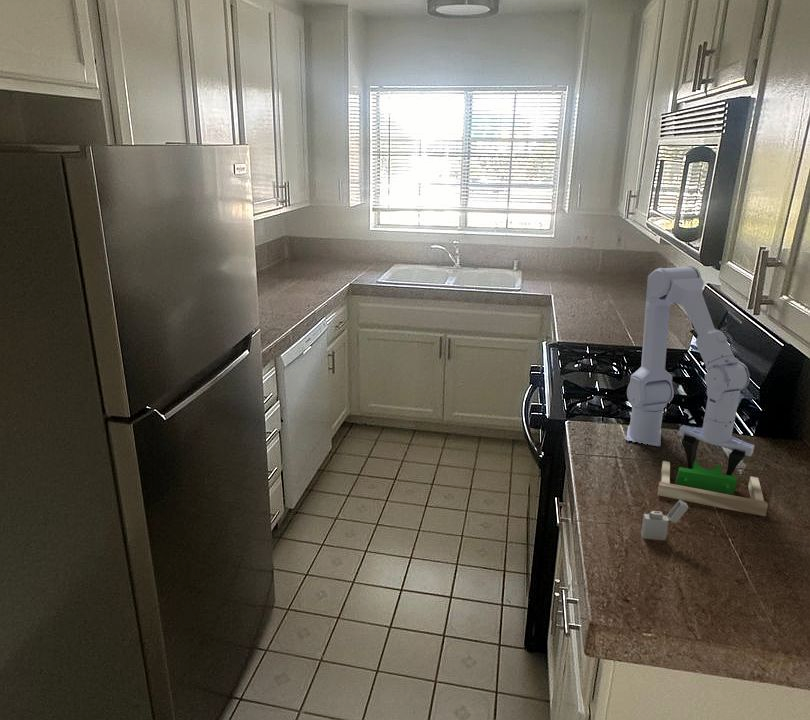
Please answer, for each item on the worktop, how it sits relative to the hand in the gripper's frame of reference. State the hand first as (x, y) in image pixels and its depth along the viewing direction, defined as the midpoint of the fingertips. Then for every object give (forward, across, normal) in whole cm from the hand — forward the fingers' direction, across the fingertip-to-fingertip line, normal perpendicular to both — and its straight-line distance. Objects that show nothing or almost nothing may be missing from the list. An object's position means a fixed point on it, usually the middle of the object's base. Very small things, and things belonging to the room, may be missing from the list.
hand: (708, 473), depth 133 cm
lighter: (+2, 0, +28) cm, 28 cm away
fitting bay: (+2, -2, +4) cm, 5 cm away
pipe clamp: (+2, 0, +3) cm, 3 cm away
